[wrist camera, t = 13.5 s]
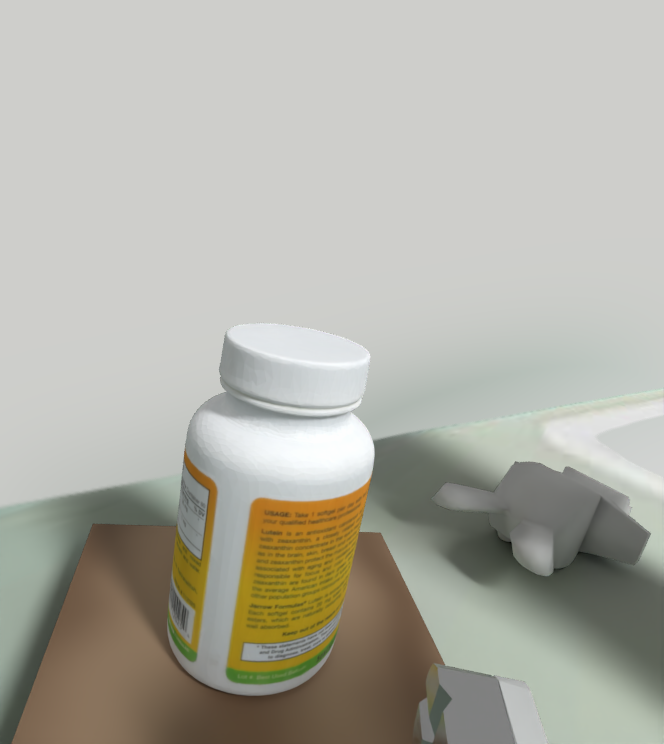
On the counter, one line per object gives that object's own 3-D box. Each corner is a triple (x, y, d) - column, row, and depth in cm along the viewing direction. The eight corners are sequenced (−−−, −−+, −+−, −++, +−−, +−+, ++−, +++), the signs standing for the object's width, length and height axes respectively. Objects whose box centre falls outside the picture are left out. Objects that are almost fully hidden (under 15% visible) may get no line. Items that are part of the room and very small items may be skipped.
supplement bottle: (355, 608, 22) (415, 348, 18) (292, 737, 16) (365, 391, 13) (224, 554, 23) (259, 308, 20) (126, 652, 18) (152, 330, 15)
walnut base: (371, 572, 28) (380, 532, 27) (473, 820, 17) (493, 763, 16) (90, 569, 25) (92, 523, 24) (-14, 879, 13) (-14, 811, 13)
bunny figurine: (685, 508, 34) (575, 534, 25) (653, 575, 35) (537, 625, 26) (555, 444, 41) (431, 446, 32) (532, 502, 42) (405, 520, 33)
